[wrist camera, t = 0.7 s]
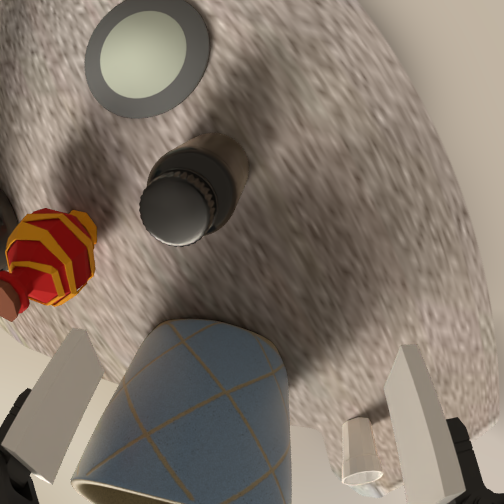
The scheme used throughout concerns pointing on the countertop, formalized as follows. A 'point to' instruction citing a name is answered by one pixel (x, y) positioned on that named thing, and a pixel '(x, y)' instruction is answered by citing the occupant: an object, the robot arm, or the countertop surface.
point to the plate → (146, 57)
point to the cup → (359, 453)
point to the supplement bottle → (194, 189)
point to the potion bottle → (47, 260)
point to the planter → (194, 422)
